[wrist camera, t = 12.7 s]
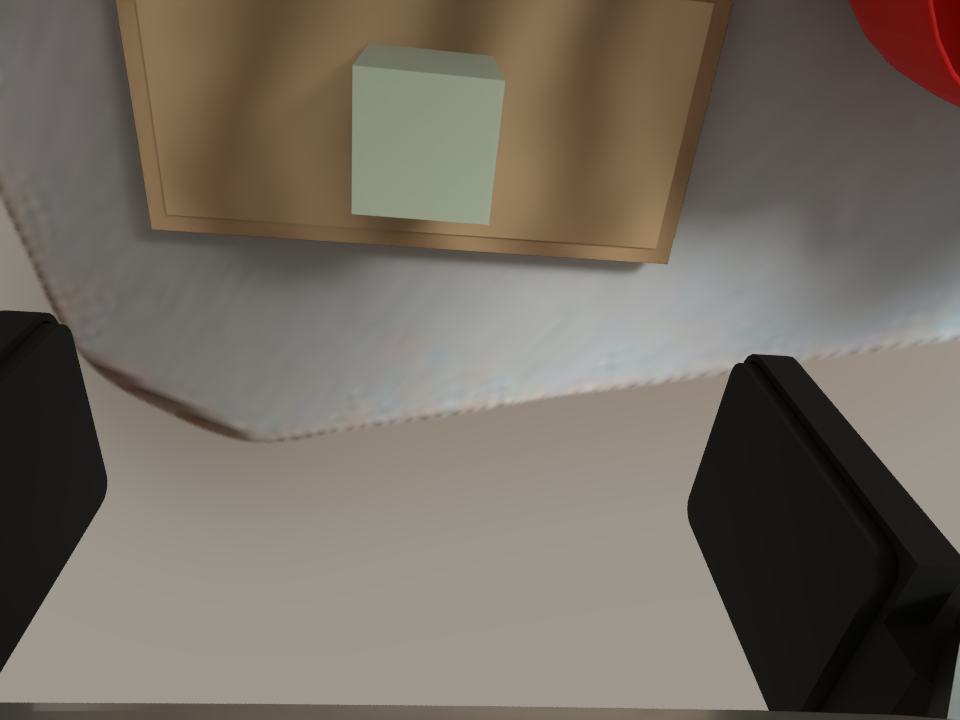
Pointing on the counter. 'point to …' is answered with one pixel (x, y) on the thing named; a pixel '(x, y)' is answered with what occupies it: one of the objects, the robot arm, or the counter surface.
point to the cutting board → (437, 26)
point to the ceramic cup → (917, 40)
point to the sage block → (425, 133)
